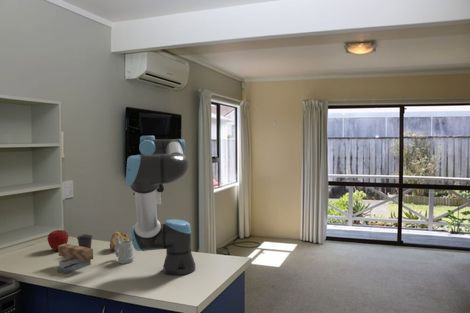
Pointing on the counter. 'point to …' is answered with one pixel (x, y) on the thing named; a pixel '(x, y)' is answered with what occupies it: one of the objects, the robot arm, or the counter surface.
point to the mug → (124, 251)
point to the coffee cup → (85, 240)
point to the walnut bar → (75, 252)
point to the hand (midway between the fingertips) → (149, 206)
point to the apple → (57, 239)
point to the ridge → (71, 265)
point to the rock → (121, 236)
